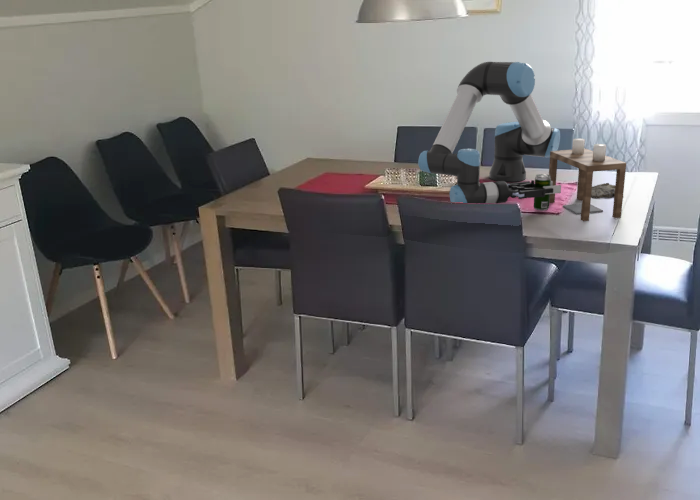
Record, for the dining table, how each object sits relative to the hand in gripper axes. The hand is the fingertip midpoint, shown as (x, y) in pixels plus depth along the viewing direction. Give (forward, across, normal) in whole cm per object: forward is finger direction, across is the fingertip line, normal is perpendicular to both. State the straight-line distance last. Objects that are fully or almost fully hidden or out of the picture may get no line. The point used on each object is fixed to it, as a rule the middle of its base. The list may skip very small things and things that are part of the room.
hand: (556, 186), depth 252 cm
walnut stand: (+10, +2, -9) cm, 13 cm away
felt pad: (+10, +2, -9) cm, 13 cm away
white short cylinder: (+10, -4, +10) cm, 15 cm away
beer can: (-5, 0, -8) cm, 9 cm away
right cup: (+11, +8, +10) cm, 17 cm away
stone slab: (+29, -16, -10) cm, 34 cm away
